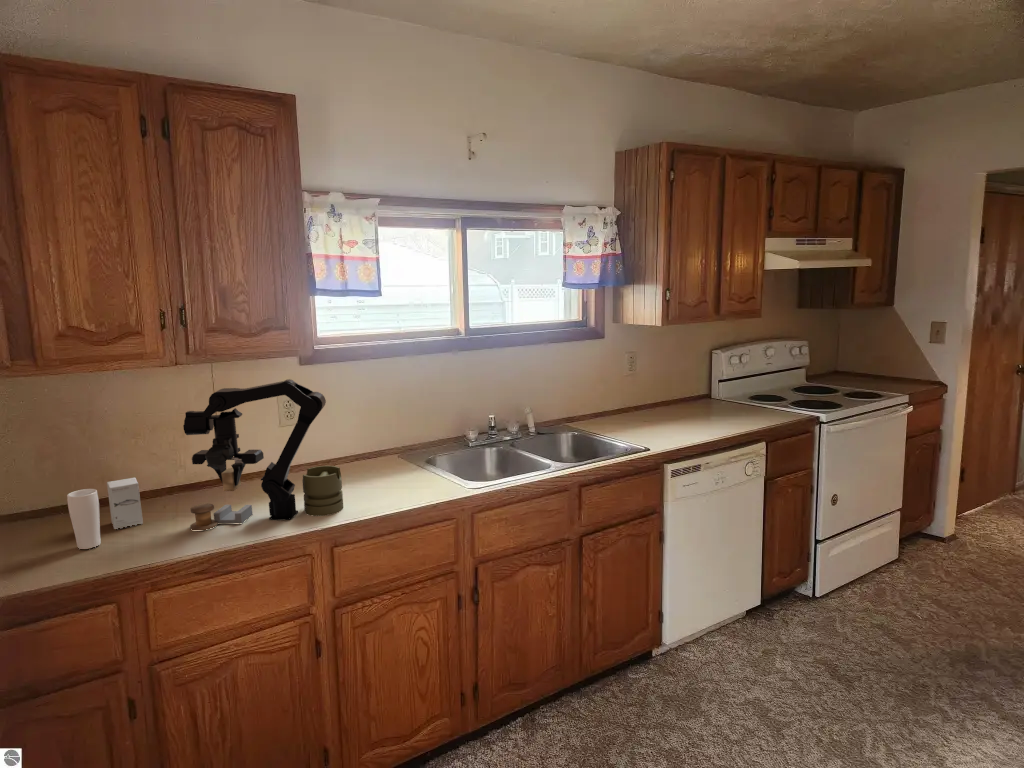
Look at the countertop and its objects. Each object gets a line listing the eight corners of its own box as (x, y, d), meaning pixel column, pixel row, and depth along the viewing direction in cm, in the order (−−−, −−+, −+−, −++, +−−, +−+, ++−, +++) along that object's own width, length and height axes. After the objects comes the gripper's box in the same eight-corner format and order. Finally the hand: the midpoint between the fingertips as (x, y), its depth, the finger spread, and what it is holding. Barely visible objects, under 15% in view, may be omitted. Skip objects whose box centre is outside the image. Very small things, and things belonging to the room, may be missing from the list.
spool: (222, 521, 190) (220, 502, 189) (209, 531, 183) (207, 511, 182) (198, 521, 190) (196, 502, 189) (185, 531, 184) (183, 511, 183)
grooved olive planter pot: (297, 477, 191) (306, 466, 202) (300, 516, 193) (309, 503, 204) (337, 476, 192) (344, 465, 203) (339, 515, 194) (346, 502, 205)
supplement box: (114, 530, 185) (108, 488, 183) (111, 523, 191) (106, 481, 189) (143, 524, 189) (138, 482, 187) (140, 517, 195) (135, 476, 193)
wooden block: (240, 485, 193) (238, 467, 192) (233, 491, 189) (231, 472, 188) (231, 485, 193) (228, 468, 192) (223, 491, 189) (221, 473, 188)
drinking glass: (71, 546, 174) (63, 493, 172) (100, 539, 179) (93, 486, 177) (77, 554, 170) (69, 498, 167) (107, 546, 174) (100, 492, 172)
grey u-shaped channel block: (252, 515, 195) (251, 504, 195) (241, 524, 188) (240, 513, 188) (226, 514, 196) (225, 504, 195) (214, 523, 189) (213, 513, 188)
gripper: (178, 440, 180) (184, 495, 183) (244, 440, 179) (249, 494, 182) (199, 430, 191) (205, 482, 194) (262, 430, 190) (266, 481, 193)
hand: (230, 485), depth 190 cm, fingers closed on wooden block, 3 cm apart
